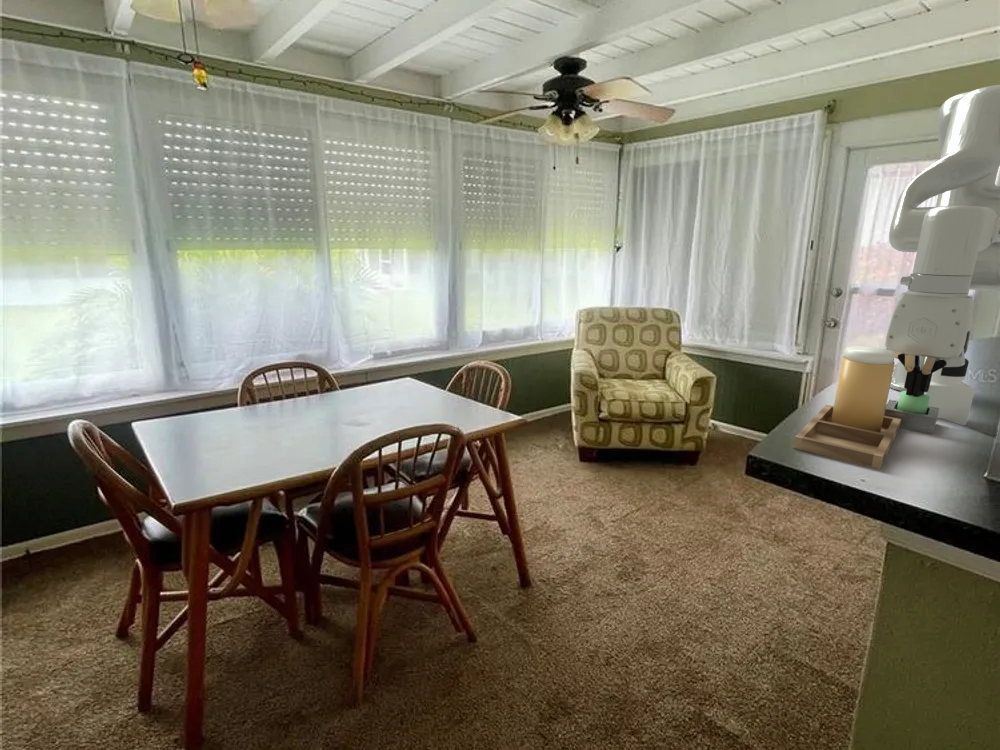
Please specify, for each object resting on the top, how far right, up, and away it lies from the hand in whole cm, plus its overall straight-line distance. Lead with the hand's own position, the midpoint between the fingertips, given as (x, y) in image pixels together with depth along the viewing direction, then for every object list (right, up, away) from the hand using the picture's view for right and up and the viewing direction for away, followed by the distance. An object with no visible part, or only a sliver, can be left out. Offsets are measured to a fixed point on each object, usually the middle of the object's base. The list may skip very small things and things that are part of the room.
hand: (914, 394), depth 89 cm
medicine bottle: (+10, -5, +8) cm, 14 cm away
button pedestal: (0, -6, +2) cm, 7 cm away
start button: (0, -4, +1) cm, 4 cm away
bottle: (-11, -6, -1) cm, 13 cm away
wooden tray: (-15, -8, -5) cm, 17 cm away
